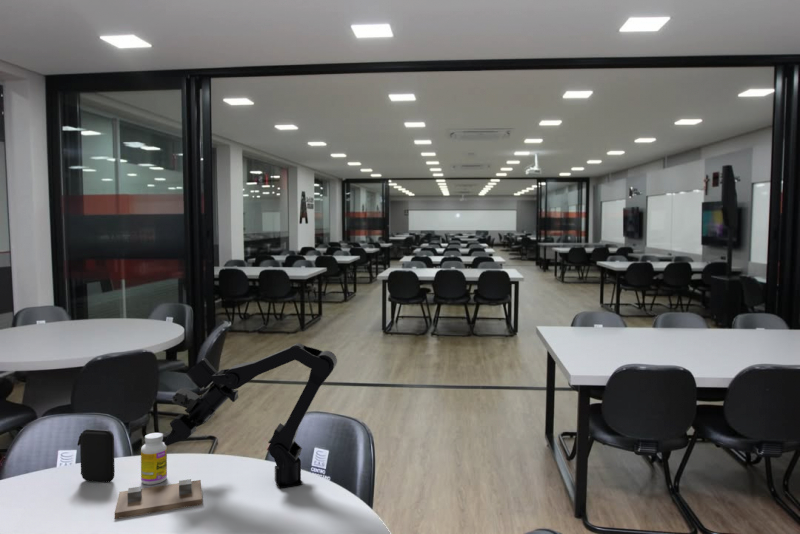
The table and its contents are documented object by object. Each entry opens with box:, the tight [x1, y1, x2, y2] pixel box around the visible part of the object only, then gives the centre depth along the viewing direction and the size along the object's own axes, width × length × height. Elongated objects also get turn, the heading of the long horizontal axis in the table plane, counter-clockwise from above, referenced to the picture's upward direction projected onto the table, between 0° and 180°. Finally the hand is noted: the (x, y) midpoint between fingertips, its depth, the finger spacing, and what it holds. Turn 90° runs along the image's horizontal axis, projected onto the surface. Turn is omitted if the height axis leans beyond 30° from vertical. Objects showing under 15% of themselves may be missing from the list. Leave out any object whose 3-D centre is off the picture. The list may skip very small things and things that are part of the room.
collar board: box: [114, 478, 203, 520], centre depth 141 cm, size 20×12×4 cm, turn 112°
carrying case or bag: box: [77, 428, 115, 483], centre depth 152 cm, size 11×3×15 cm, turn 83°
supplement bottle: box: [140, 432, 168, 485], centre depth 153 cm, size 7×7×13 cm
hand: (172, 438), depth 152 cm, fingers open, 9 cm apart
